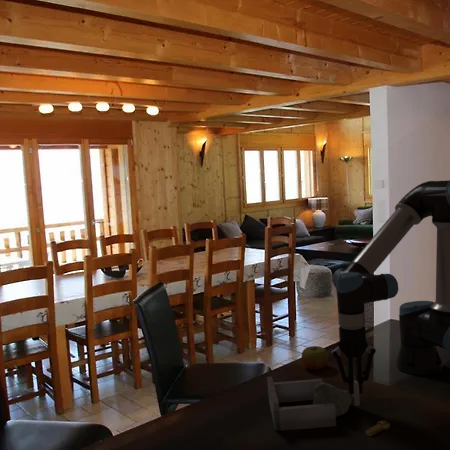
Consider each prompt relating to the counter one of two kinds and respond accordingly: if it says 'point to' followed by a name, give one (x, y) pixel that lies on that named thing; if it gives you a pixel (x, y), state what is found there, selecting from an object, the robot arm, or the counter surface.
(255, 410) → the counter surface
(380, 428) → the wooden spoon
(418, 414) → the counter surface
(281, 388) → the gray open-sided box
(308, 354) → the apple
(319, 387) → the decorative stone
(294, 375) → the counter surface
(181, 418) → the counter surface
